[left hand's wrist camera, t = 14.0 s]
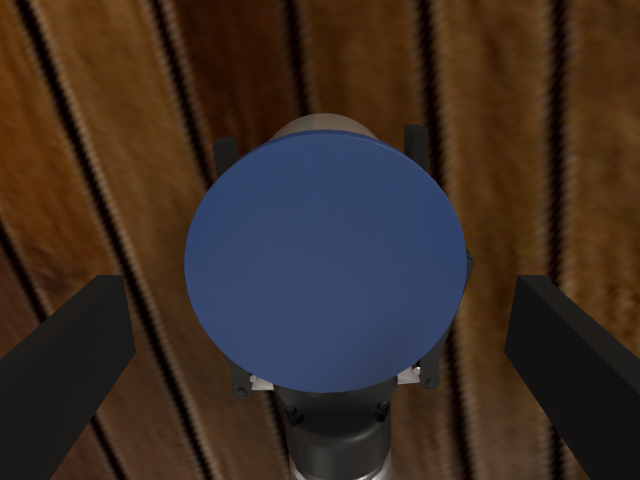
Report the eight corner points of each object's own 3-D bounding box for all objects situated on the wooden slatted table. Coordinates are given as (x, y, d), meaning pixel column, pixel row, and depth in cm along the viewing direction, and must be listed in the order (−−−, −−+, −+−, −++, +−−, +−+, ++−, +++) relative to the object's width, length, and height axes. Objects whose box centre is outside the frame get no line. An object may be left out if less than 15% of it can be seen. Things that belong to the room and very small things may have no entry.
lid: (142, 259, 18) (125, 275, 16) (327, 64, 15) (328, 62, 14) (322, 408, 20) (322, 434, 19) (507, 264, 18) (524, 280, 16)
